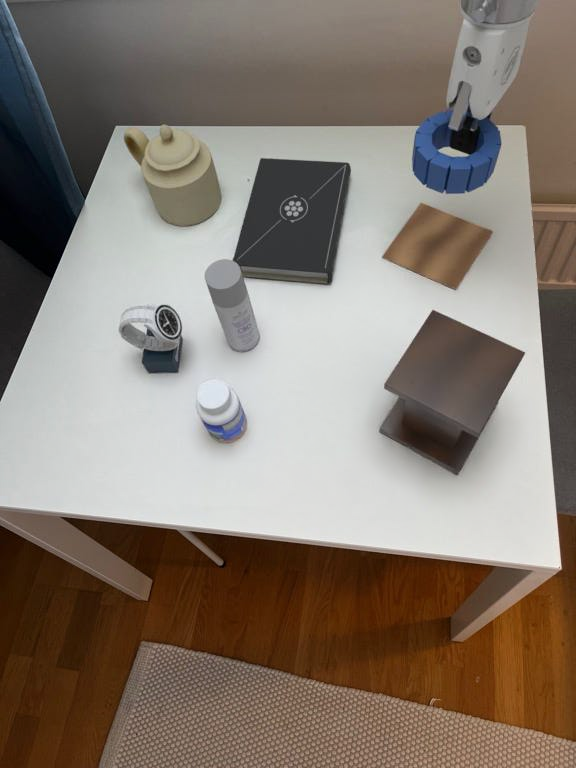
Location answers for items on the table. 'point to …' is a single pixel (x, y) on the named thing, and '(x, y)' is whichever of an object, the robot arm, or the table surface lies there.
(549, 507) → the table surface
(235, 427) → the pill bottle
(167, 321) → the watch
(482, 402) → the platform
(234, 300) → the container
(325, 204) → the book
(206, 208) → the sugar bowl
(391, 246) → the mat
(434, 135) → the ring
